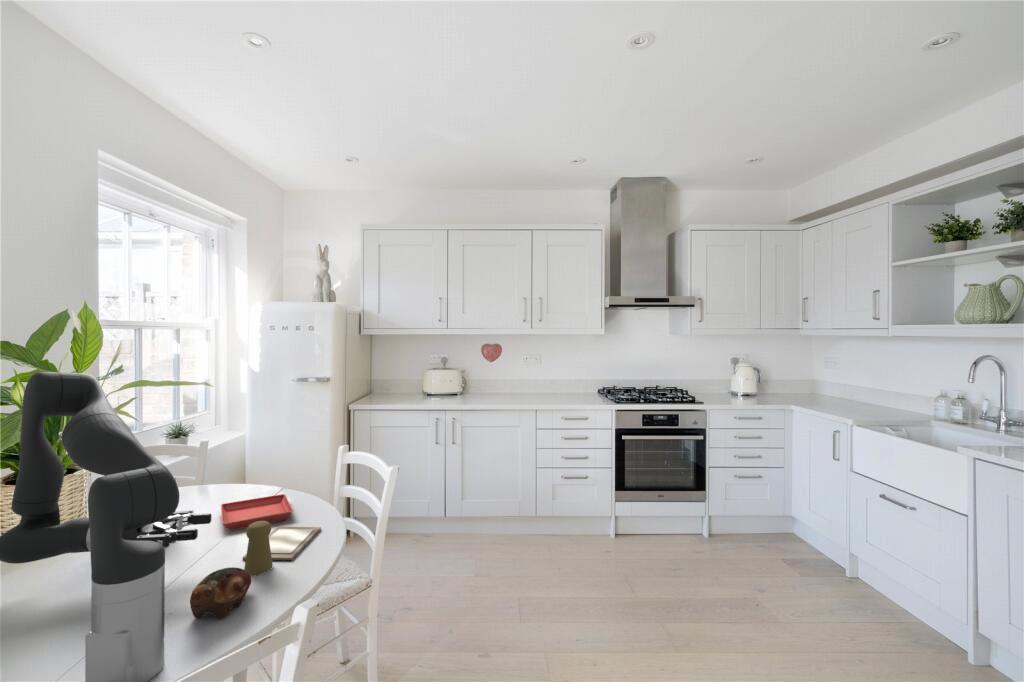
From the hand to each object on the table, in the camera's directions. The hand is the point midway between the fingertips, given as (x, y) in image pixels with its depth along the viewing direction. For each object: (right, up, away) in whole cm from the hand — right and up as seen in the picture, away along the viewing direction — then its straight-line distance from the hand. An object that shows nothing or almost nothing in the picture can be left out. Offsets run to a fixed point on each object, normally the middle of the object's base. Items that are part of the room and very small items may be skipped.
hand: (204, 525), depth 106 cm
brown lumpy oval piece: (+12, -12, -13) cm, 21 cm away
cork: (+11, -12, +3) cm, 16 cm away
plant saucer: (-7, -11, +34) cm, 36 cm away
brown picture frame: (+11, -11, +16) cm, 22 cm away
